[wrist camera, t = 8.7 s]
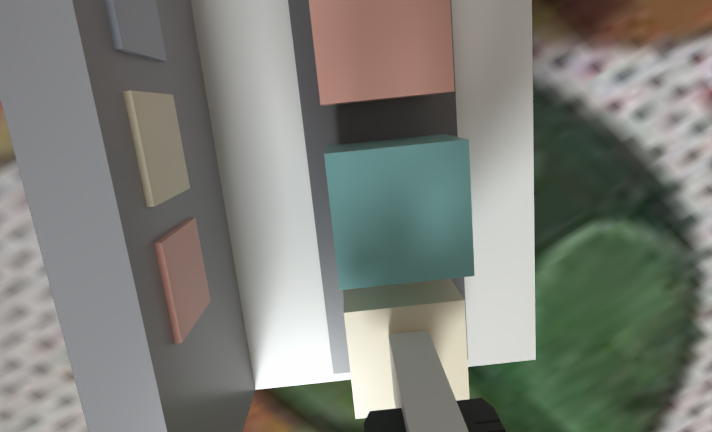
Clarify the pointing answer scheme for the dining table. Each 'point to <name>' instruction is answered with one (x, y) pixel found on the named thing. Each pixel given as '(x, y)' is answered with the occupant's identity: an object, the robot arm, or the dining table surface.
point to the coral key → (381, 49)
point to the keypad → (237, 194)
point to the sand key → (400, 315)
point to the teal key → (401, 210)
